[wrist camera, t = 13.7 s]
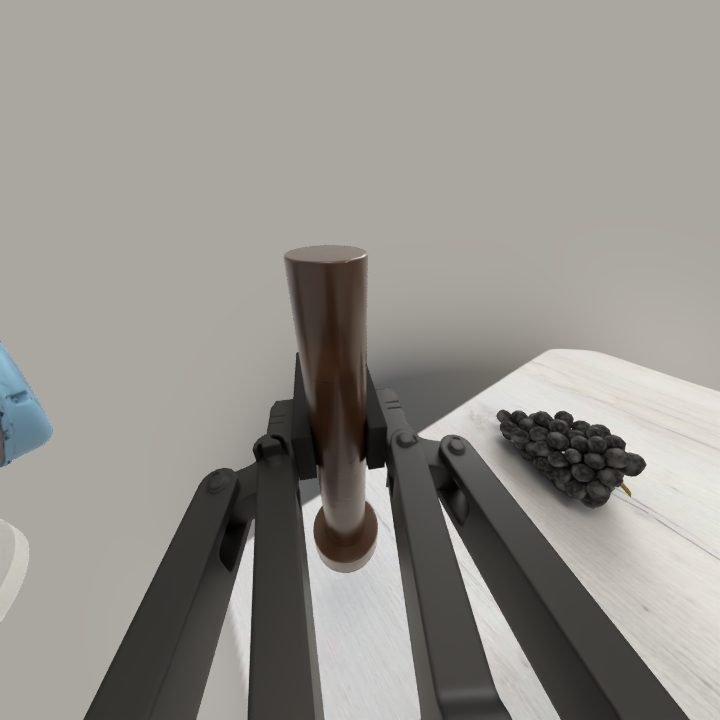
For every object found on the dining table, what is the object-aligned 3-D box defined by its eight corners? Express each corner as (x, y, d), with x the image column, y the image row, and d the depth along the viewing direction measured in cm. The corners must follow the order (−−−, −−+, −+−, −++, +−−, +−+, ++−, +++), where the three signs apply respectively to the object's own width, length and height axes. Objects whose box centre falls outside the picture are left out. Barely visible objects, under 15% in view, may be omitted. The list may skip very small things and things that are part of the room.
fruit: (500, 381, 34) (656, 469, 23) (529, 379, 38) (670, 451, 27) (472, 434, 37) (597, 534, 26) (502, 426, 42) (619, 507, 31)
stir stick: (316, 579, 15) (238, 274, 6) (315, 510, 18) (263, 242, 9) (383, 565, 16) (416, 266, 6) (370, 500, 19) (378, 239, 9)
